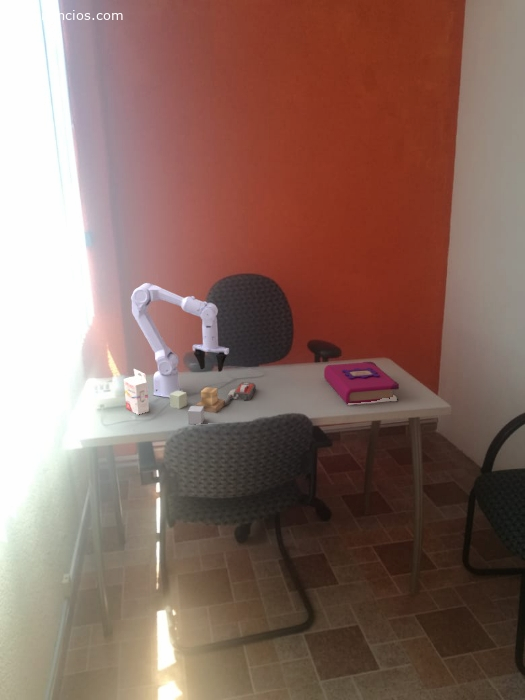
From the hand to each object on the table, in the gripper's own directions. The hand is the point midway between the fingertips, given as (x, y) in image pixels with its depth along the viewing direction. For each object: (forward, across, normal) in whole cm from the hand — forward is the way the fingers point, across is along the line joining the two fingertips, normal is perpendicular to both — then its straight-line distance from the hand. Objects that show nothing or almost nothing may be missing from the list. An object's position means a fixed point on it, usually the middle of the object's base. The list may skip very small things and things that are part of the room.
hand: (211, 369), depth 213 cm
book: (+11, +52, +25) cm, 59 cm away
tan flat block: (+11, +5, -11) cm, 16 cm away
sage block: (+10, -7, -14) cm, 19 cm away
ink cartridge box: (+11, -19, -23) cm, 32 cm away
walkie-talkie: (+11, +11, +2) cm, 16 cm away
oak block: (+8, +5, -12) cm, 15 cm away
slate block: (+10, +6, -24) cm, 27 cm away
